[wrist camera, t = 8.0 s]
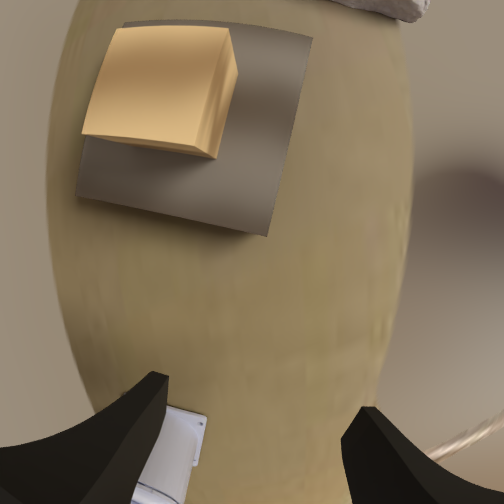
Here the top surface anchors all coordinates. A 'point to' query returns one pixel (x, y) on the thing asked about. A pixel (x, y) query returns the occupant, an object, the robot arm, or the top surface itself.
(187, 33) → the maple cube
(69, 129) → the top surface
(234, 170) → the base block
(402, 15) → the stone block
